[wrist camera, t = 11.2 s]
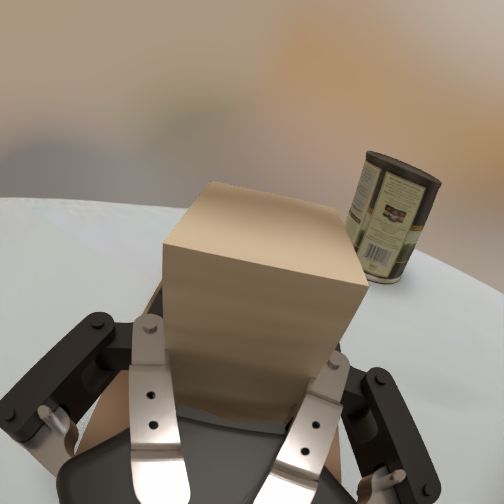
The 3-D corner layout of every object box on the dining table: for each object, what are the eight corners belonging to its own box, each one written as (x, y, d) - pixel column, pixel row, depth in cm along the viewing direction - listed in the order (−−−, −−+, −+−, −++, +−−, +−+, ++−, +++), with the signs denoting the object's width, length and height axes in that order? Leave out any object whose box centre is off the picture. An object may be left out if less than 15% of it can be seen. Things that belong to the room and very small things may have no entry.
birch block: (263, 450, 13) (369, 286, 6) (172, 433, 12) (162, 243, 6) (268, 381, 17) (336, 208, 11) (192, 366, 17) (210, 181, 11)
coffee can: (383, 248, 41) (415, 165, 34) (411, 287, 33) (456, 190, 25) (326, 237, 40) (355, 144, 33) (346, 279, 31) (390, 164, 24)
